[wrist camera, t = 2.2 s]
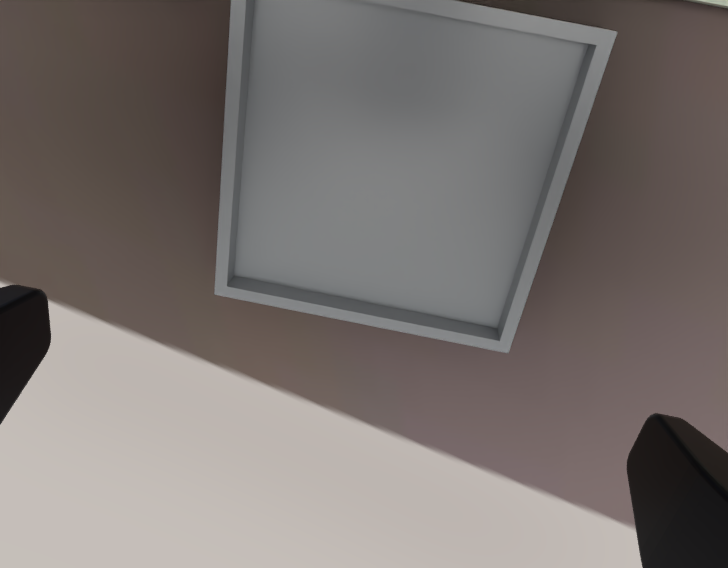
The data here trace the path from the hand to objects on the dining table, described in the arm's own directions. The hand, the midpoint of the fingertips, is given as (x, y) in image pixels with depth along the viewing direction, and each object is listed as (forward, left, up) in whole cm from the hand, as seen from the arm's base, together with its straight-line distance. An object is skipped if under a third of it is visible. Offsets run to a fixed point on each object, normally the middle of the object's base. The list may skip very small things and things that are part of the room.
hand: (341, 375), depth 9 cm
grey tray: (0, 0, -11) cm, 11 cm away
